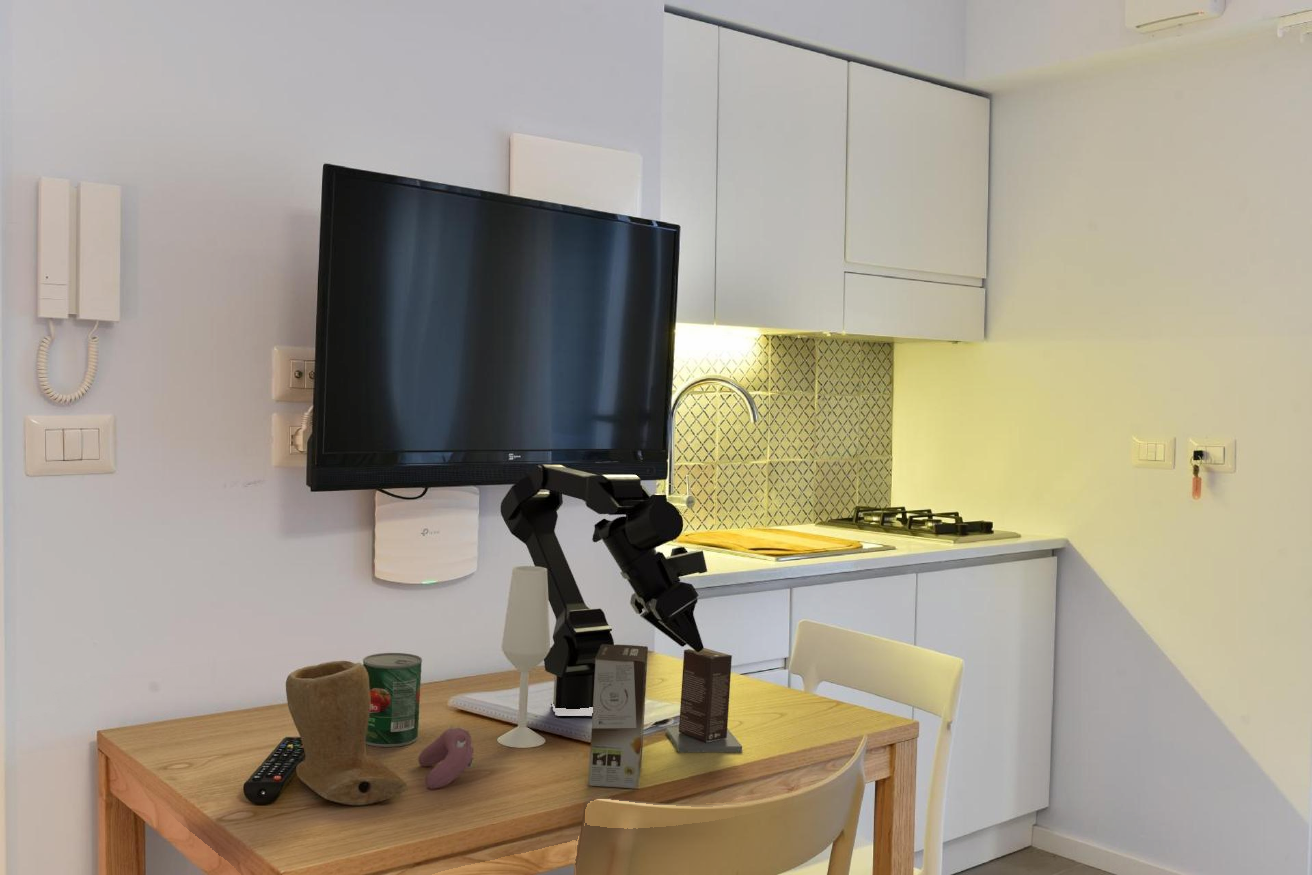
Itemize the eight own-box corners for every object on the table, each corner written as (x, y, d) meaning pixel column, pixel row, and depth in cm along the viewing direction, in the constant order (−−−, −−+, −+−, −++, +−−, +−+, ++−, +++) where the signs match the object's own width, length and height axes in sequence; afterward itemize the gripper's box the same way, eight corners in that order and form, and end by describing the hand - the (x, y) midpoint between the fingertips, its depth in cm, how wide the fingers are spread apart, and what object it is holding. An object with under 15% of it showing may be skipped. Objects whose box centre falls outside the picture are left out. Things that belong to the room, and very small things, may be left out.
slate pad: (678, 752, 157) (679, 746, 156) (666, 732, 165) (666, 727, 165) (742, 751, 158) (742, 746, 158) (726, 732, 167) (726, 727, 167)
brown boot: (270, 777, 138) (275, 655, 138) (366, 764, 145) (371, 647, 144) (305, 819, 126) (311, 685, 125) (408, 803, 132) (414, 675, 132)
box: (728, 738, 161) (733, 654, 161) (705, 743, 158) (710, 658, 158) (699, 727, 166) (704, 645, 165) (676, 732, 163) (681, 649, 162)
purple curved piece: (456, 802, 138) (484, 749, 138) (422, 787, 136) (451, 734, 137) (446, 775, 147) (472, 726, 148) (414, 760, 146) (441, 711, 146)
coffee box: (639, 789, 141) (645, 661, 140) (587, 786, 141) (594, 658, 140) (642, 765, 150) (648, 645, 149) (593, 762, 150) (600, 642, 150)
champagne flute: (505, 749, 154) (514, 572, 153) (490, 734, 160) (499, 565, 159) (552, 745, 157) (561, 572, 156) (536, 731, 163) (544, 564, 162)
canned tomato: (347, 741, 154) (350, 660, 153) (381, 726, 161) (385, 649, 160) (396, 750, 151) (400, 668, 150) (429, 735, 158) (433, 657, 158)
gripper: (697, 525, 157) (756, 620, 157) (667, 527, 175) (720, 613, 176) (630, 569, 154) (691, 666, 155) (606, 567, 172) (661, 653, 173)
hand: (692, 647), depth 165 cm, fingers open, 9 cm apart
